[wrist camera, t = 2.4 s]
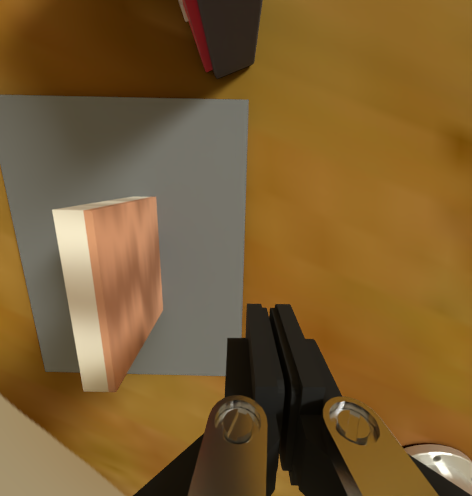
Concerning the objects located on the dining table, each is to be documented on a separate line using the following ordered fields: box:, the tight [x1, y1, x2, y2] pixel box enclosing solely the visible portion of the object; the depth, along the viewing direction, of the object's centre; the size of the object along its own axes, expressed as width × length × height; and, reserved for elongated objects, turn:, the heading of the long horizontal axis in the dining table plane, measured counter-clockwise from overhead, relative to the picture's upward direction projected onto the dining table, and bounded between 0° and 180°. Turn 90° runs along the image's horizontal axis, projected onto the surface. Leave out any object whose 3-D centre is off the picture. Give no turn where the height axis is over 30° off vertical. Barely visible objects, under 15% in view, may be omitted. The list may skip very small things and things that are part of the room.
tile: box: [52, 196, 163, 392], centre depth 17 cm, size 10×2×9 cm, turn 179°
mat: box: [0, 95, 249, 376], centre depth 22 cm, size 24×19×1 cm
